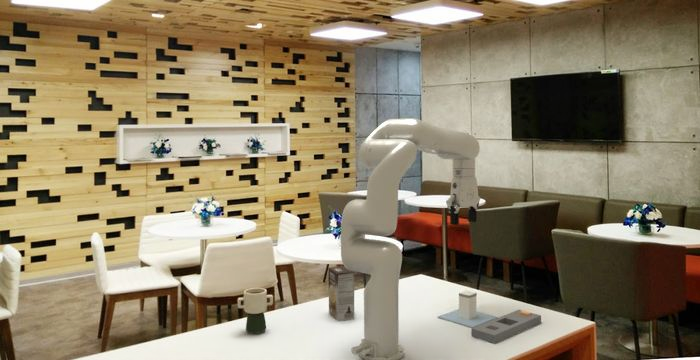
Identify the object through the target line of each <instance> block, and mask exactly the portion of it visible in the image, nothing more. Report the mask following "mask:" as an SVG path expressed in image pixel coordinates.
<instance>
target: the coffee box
mask: <svg viewBox="0 0 700 360" xmlns="http://www.w3.org/2000/svg"><path fill="white" fill-rule="evenodd" d="M328 313H329V315H331V316H332V317H333V318H334V319H335V320H336V321H337V322H341V321H347V320H348V321H349V320H355V271H351V270H348V269H347V268H346V267H345V266H344V265H340V266H331V267H328Z"/></svg>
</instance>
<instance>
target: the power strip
mask: <svg viewBox="0 0 700 360" xmlns="http://www.w3.org/2000/svg"><path fill="white" fill-rule="evenodd" d="M541 323H542V314H538V313H534V312H530V311H527V310H521V309H516V310H514V311H512V312H510V313H506V314H505V315H502V316H500V317H499V316H498V318H496V319H494V320H491V321H489V322H486V323H484V324H481V325H479V326H476V327H474V328H470V329H471V330H470V331H471V332H470V333H471V337H472V338H475V339H477V340H478V339H479V340H482V341H484V342H488V343H491V344H494V345H495V344H497V343H499V342H502V341H504V340H505V339H509V338H511V337H513V336H515V335H517V334H519V333H522V332H523V331H526V330H529V329H530V328H532V327H535V326H538V325H539V324H541ZM510 336H511V337H510Z"/></svg>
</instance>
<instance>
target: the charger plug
mask: <svg viewBox="0 0 700 360" xmlns="http://www.w3.org/2000/svg"><path fill="white" fill-rule="evenodd" d="M477 294H478V293H477V292H475V291H470V290H464V291H461V292H458V309H459V317H462V318H465V319H472V318H474V317H476V311H477Z"/></svg>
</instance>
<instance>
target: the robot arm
mask: <svg viewBox="0 0 700 360" xmlns="http://www.w3.org/2000/svg"><path fill="white" fill-rule="evenodd" d="M418 151H421V152H423V153H426V154H431V155H436V156H437V157H439V158H440V159H443V160H452V179H451V183H450V185H451V186H450V194H449V195H450V197H449V198H448V199H446V200H445V202H446V206H447V209H448V213H450V215H449V216H450V217H449V218H450V221H449V224H450V225H453V226H459V225H460V213H459V211H460V208H468V209H467V220H468V222H471V223H472V222H473V223H476V222H477V220H478V219H477V211H478V209H479V208H478V207H479V205H480V200H481V196H479V188H478V180H477V177H476V158H477V157H478V155H479V153H480V142H479V140H478V138H476V137H475V136H474V135H473V134H470V133H467V132H464V131H459V130H452V129H450V128H443V127H441V126H440V127H439V126H436V125H433V124H430V123H428V122H426V121H423V120H421V119H418V118H414V117H411V118H409V117H407V118H389V119H386V120H385V121H383V122H382V123H381V124H379V126H377V127H376V128H375V129H374V130H373V131H372V132H371V133H370V134H369V135H368V136H367V137H366V138H365V139H364V140H363V141H362V144H361V145H360V148H359V151H358V157H359V161H360V163H361V165H362V166H364V168H367V169H372V170H373V171H372V173H371V174H370V176H369V178H368V180H367V188H366V199H361V198H360V199H359V198H358V199H352V200H350V201H349V202H347V204H346V205H345V206H344V209H343V210H342V214H341V222H340V224H341V225H340V226H341V228H340V229H341V230H340V231H341V232H340V238H341V239H340V259H341V263H342V264H343V265H342V266H345V267H346V268H347V269H348V270H351V271H354V273H355V272H356V273H362V274H367V275H370V278H369V279H368V282H367V283H366V285H365V286H364V289H363V336H364V337H363V338H361V343H360V344H359V345H357V346H353V347H352V348H351V349H350V350H351V354H352V355H354V356H355V355H359V357H361V359H364V360H400V359H402V358H403V357H404V356H405V349H404V347H403V346H402V345H400V344H399V342H400V340H399V337H400V335H399V332H400V331H399V327H400V326H399V322H400V321H399V285H400V284H399V283H400V275H401V268H402V263H403V253H402V251H401V249H400V247H399V246H398V245H396V244H395V243H393V242H391V241H386V240H380V239H373V238H372V239H370V238H366V235H371V236H378V237H379V236H380V237H387V236H391V235H393V234H394V233H395V231H396V229H397V227H398V216H399V215H398V214H399V213H398V212H399V211H398V209H399V208H398V207H399V203H398V202H399V187H400V183H401V180H402V178H403V176H404V175H405V173H406V172H407V171H408V170H409V169H410V168H411V166H412V165H413V164H414V163H415V160H416V158H417V154H418Z"/></svg>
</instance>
